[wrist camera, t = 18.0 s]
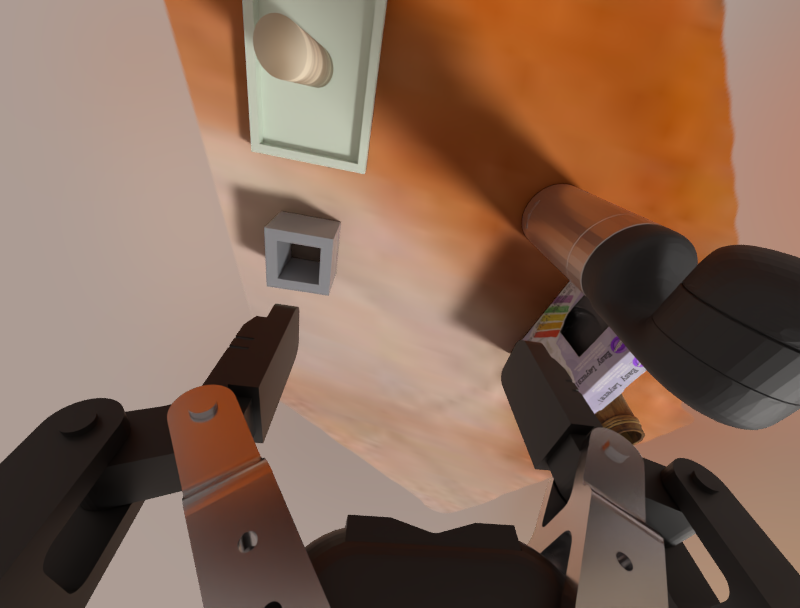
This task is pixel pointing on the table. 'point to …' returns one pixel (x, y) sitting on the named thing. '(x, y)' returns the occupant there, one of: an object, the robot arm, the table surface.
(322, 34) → the sage tray
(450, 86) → the table surface
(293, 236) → the grey cup
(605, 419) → the wooden mug
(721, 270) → the robot arm
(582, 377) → the cake pan box
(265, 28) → the birch peg
